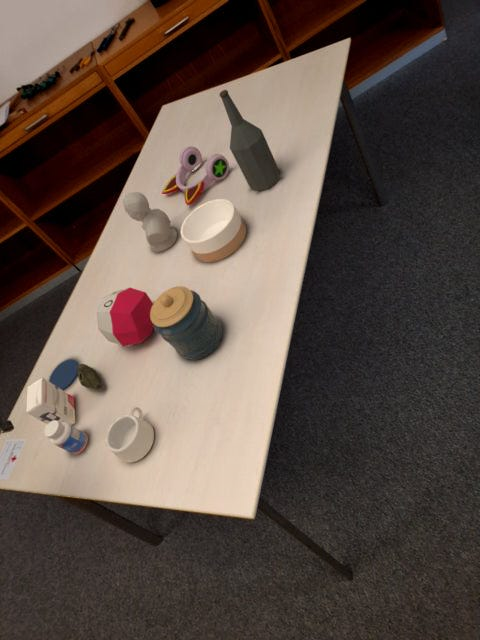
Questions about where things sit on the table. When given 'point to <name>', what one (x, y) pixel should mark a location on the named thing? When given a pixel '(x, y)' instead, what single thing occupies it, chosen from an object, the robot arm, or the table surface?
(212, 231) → the bowl
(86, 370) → the decorative stone
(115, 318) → the decorative object
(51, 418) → the ink box
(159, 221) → the figurine
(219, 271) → the table surface
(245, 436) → the table surface
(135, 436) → the mug
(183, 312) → the canister
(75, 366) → the coaster
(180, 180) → the headphones
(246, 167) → the bottle
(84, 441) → the pill bottle
